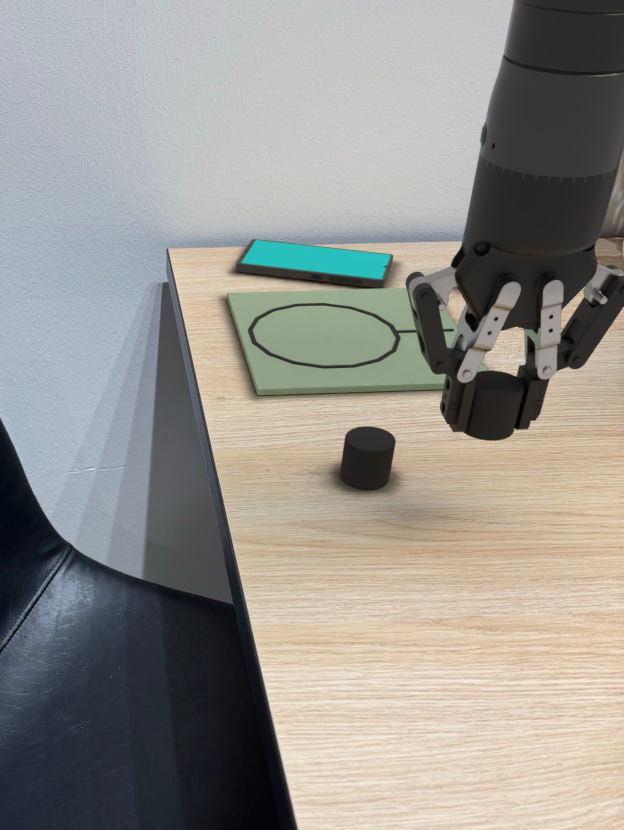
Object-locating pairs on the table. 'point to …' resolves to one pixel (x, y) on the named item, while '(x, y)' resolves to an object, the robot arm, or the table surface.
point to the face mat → (334, 341)
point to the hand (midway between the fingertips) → (486, 424)
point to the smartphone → (316, 263)
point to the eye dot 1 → (367, 457)
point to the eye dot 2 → (494, 405)
